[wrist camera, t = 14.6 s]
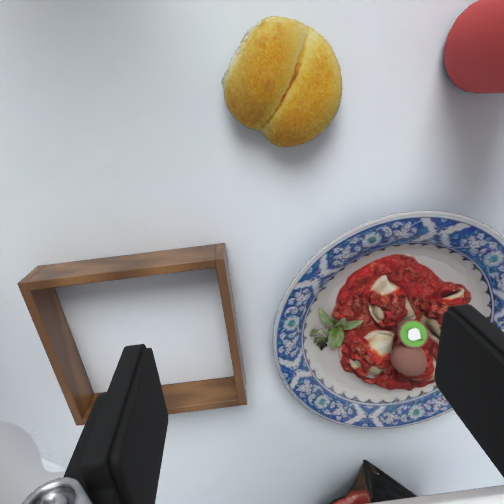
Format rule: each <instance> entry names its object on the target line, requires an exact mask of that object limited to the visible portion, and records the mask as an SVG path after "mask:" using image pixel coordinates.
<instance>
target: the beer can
mask: <svg viewBox="0 0 504 504" xmlns="http://www.w3.org/2000/svg"><path fill="white" fill-rule="evenodd" d="M444 64H445V67H446V71H447V74H448V76H449V77H450V79H451V80H452V81H453V83H454V84H455V85H456V86H457V87H459V88H461V89H462V90H464V91H466V92H473V93H504V0H478V1H477V2H475V3H473V4H472V5H470V6H469V7H468V8H467V9H466V10H465V11H464V12H463V13H462V14H461V15H460V16H459V17H458V18H457V20H456V21H455V23H454V25H453V26H452V28H451V30H450V32H449V34H448V37H447V41H446V44H445V47H444Z"/></svg>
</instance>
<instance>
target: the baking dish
mask: <svg viewBox="0 0 504 504" xmlns="http://www.w3.org/2000/svg"><path fill="white" fill-rule="evenodd" d="M412 497H417V496H416V495H414V494H413V493H412V492H410V491H409V490H408V489H406V488H405V487H403V486H402V485H401V484H399V483H398V482H397V481H395V480H394V479H392V478H391V477H390V476H388V475H387V474H385V473H384V472H383V471H381V470H380V469H378V468H377V467H375V466H374V465H372V464H371V463H369V462H368V461H366V460H364V463H363V466H362V469H361V471H360V474H359V476H358V478H357V480H356V481H355V483H354V485H353V486H352V488H351V490H350V491H349V493H348V495H347V496H346V497H341V498H338V499H335V500H333V501H332V502H331V503H330V504H369V503H376V502H383V501H391V500H398V499H405V498H412Z"/></svg>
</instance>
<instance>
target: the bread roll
mask: <svg viewBox="0 0 504 504" xmlns="http://www.w3.org/2000/svg"><path fill="white" fill-rule="evenodd" d="M221 82H222V85H223V88H224V96H225V101H226V104H227V107H228V109H229V110H230V112H231V113H232V114H233V115H234V117H235V118H236V119H237V120H238V121H239V122H240V123H242V124H243V125H245V126H246V127H249V128H252V129H257V130H259V131H261V132H262V133H263V134H264V135H265V137H266V138H267V139H268V140H269V141H270V142H272V143H273V144H275V145H277V146H282V147H291V146H296V145H299V144H303V143H305V142H308V141H310V140H312V139H313V138H314V137H316V136H317V135H318V134H320V133H321V132H322V131H323V130H325V129H326V128H327V126H328V125H329V124H330V122H331V121H332V120H333V118H334V116H335V115H336V113H337V111H338V109H339V106H340V102H341V96H342V76H341V69H340V65H339V63H338V60H337V58H336V56H335V54H334V51H333V49H332V47H331V45H330V44H329V43H328V41H327V40H326V39H325V38H324V37H323V36H322V35H321V34H319V33H318V32H317V31H315V30H314V29H312V28H310V27H308V26H306V25H305V24H303V23H301V22H299V21H297V20H294V19H290V18H285V17H277V16H271V17H268V18H265V19H263V20H261V21H260V22H258V23H257V24H256V25H254V26H253V27H251V28H250V29H248V30H247V32H246V34H245V36H244V38H243V39H242V41H241V43H240V44H239V46H238V48H237V49H236V51H235V54H234V56H233V57H232V59H231V60H230V63H229V65H228V69H227V71H226V72H225V74H224V76H223V78H222V81H221Z"/></svg>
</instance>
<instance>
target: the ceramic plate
mask: <svg viewBox="0 0 504 504" xmlns="http://www.w3.org/2000/svg"><path fill="white" fill-rule="evenodd" d="M464 304H470V305H472V306H473V307H474V308H475V309H477V310H478V311H479V312H480V313H481V314H483V315H484V316H485V317H486V318H487V319H488V320H490V321H491V322H492V323H493V324H494V325H496V326H497V327H498V328H499V329H500V330H502V331H503V332H504V238H503V237H502V236H501V235H500V234H499V233H497V232H496V231H494V230H493V229H492V228H490V227H488V226H486V225H484V224H483V223H481V222H479V221H476V220H473V219H471V218H468V217H465V216H461V215H457V214H453V213H447V212H440V211H412V212H404V213H398V214H393V215H389V216H384V217H381V218H378V219H375V220H373V221H370V222H367V223H364V224H362V225H360V226H358V227H356V228H354V229H352V230H350V231H348V232H346V233H344V234H342V235H341V236H339V237H338V238H336V239H334V240H333V241H331V242H330V243H329V244H327V245H326V246H325V247H324V248H322V249H321V250H320V251H319V252H317V253H316V254H315V255H314V256H313V257H312V258H311V259H310V260H309V261H308V262H307V263H306V264H305V265H304V267H303V268H302V269H301V270H300V271H299V273H298V274H297V275H296V277H295V278H294V279H293V281H292V282H291V284H290V286H289V287H288V289H287V291H286V292H285V295H284V297H283V299H282V301H281V303H280V306H279V309H278V312H277V315H276V319H275V324H274V332H273V350H274V357H275V362H276V366H277V369H278V371H279V374H280V376H281V378H282V380H283V382H284V383H285V385H286V387H287V388H288V390H289V391H290V392H291V393H292V395H293V396H294V397H295V398H296V399H297V400H298V401H299V402H300V403H301V404H303V405H304V406H305V407H306V408H308V409H309V410H311V411H312V412H313V413H315V414H317V415H319V416H321V417H323V418H325V419H328V420H330V421H333V422H336V423H339V424H343V425H347V426H351V427H357V428H366V429H386V428H397V427H403V426H408V425H413V424H417V423H421V422H424V421H428V420H430V419H433V418H435V417H438V416H440V415H442V414H445V413H447V412H449V411H451V410H453V408H452V407H451V405H450V404H449V403H448V401H447V400H446V399H445V397H444V396H443V394H442V393H441V392H440V390H439V389H438V388H437V386H436V383H435V379H434V374H435V367H436V360H437V353H438V345H439V338H440V331H441V324H442V317H443V313H444V312H446V311H447V310H448V308H449V307H450V306H456V305H464ZM406 319H415V320H418V321H420V322H422V323H423V324H424V325H425V326H426V328H427V330H428V333H429V335H428V340H427V342H426V343H425V344H424V346H422V347H420V348H419V349H421V350H422V351H423V353H424V354H425V356H426V358H427V367H426V369H425V371H424V372H423V373H422V374H420V375H417V376H407V375H404V374H402V373H400V372H398V371H397V370H396V369H395V367H394V366H393V365H392V362H391V352H392V350H393V349H394V348H395V347H396V346H398V345H400V344H403V343H402V342H401V341H400V340H399V337H398V335H397V326H398V324H399V323H400V322H401V321H403V320H406Z"/></svg>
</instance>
